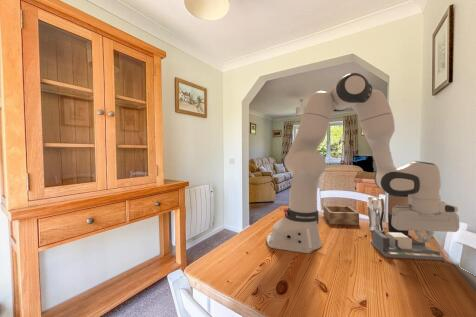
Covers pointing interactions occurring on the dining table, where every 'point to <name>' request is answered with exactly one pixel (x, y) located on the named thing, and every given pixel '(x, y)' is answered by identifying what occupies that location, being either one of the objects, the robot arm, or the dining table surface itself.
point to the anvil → (381, 240)
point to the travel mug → (392, 202)
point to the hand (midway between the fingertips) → (423, 241)
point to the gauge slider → (399, 240)
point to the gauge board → (412, 252)
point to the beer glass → (375, 213)
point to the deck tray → (341, 215)
